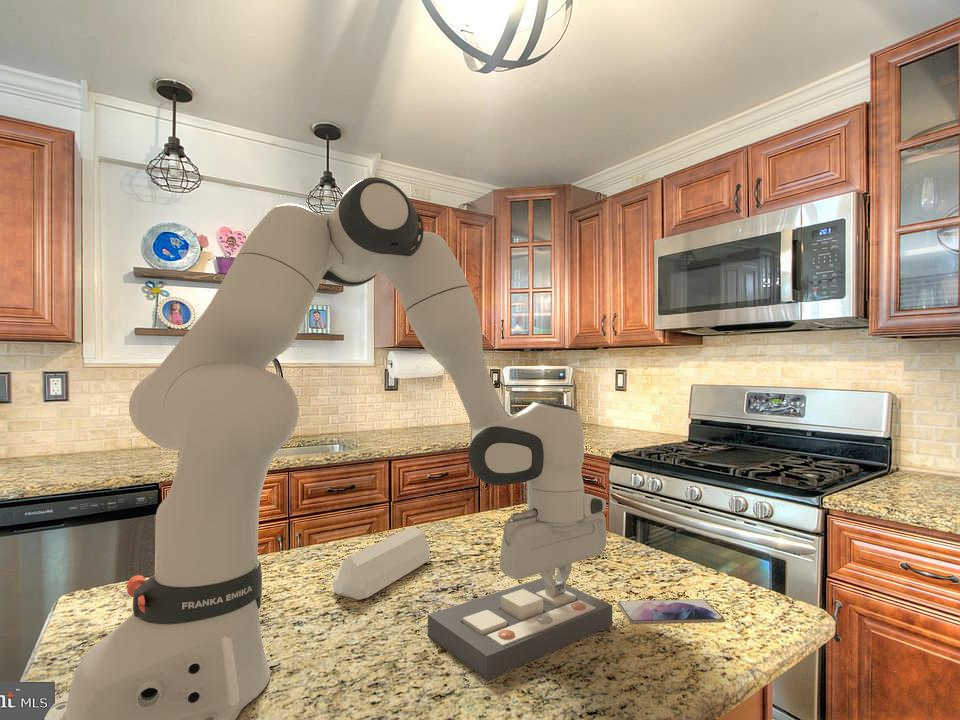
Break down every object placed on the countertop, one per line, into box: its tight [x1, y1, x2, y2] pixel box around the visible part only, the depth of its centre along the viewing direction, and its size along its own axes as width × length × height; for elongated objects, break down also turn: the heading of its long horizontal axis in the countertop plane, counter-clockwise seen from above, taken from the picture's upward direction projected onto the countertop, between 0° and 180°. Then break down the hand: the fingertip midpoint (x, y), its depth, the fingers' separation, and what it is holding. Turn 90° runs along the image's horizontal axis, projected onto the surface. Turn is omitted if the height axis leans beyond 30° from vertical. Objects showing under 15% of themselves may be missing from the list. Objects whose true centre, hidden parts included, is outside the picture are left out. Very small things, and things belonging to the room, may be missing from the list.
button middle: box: [501, 589, 543, 621], centre depth 78 cm, size 4×4×3 cm
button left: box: [463, 610, 507, 635], centre depth 74 cm, size 4×4×3 cm
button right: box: [536, 590, 576, 607], centre depth 82 cm, size 4×4×3 cm
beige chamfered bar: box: [332, 525, 431, 601], centre depth 98 cm, size 7×7×24 cm
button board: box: [427, 577, 613, 681], centre depth 78 cm, size 24×14×3 cm, turn 127°
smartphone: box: [617, 598, 725, 625], centre depth 84 cm, size 7×1×15 cm
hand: (555, 593), depth 82 cm, fingers closed, pressing on button right
